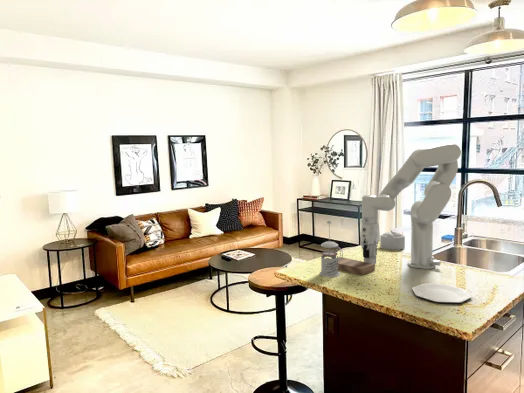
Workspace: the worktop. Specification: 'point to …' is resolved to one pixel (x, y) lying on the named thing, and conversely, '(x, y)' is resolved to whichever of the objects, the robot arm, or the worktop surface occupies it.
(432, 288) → the plate
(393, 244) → the lumpy-topped squat cylinder
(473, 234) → the worktop surface
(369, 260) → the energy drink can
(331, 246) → the french press
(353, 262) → the walnut board
